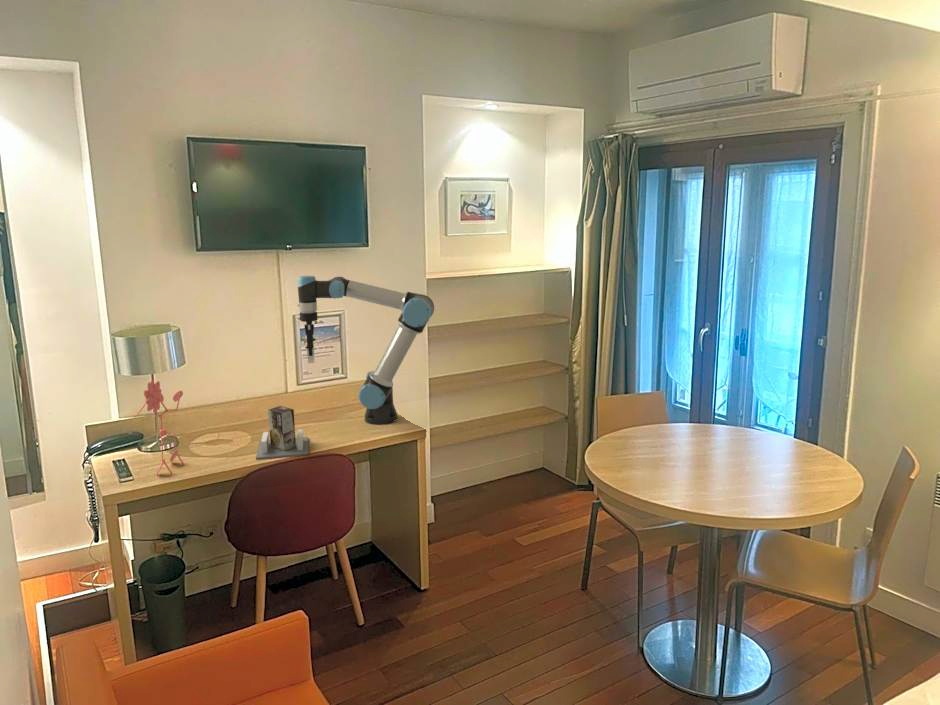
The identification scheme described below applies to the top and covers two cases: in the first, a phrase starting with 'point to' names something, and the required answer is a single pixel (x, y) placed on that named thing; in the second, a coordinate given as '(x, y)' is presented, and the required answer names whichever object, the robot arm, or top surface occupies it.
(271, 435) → the coffee box
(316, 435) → the top surface
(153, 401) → the figurine
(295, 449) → the collar base
